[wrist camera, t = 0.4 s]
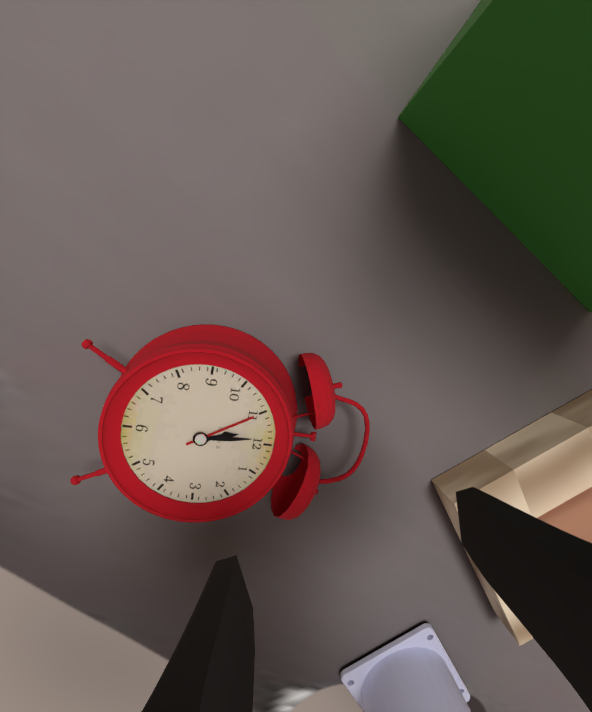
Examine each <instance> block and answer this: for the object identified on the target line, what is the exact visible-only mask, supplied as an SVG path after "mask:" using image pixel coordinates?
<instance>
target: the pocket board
mask: <svg viewBox="0 0 592 712" xmlns="http://www.w3.org/2000/svg"><path fill="white" fill-rule="evenodd" d="M432 482H433V484H434V486H435V488H436V490H437V493H438V495H439V497H440V499H441V501H442V503H443V505H444V507H445V509H446V511H447V514H448V516H449V518H450V520H451V522H452V524H453V526H454V528H455V530H456V532H457V534H458V537H459V539H460V541H461V534H460V526H459V517H458V509H457V500H456V492H457V491H460V490H464V489H467V488H470V487H475V488H477V489H479V490H481V491H483V492H485V493H487V494H489V495H491V496H493V497H495V498H497V499H499V500H501V501H503V502H505V503H507V504H509V505H511V506H513V507H515V508H517V509H519V510H521V511H523V512H525V513H527V514H529V515H532V516H534V517H536V518H538V517H539V516H541V515H543V514H545V513H546V512H548V511H550V510H552V509H553V508H555V507H557V506H559V505H560V504H562V503H564V502H566V501H567V500H569V499H571V498H573V497H575V496H576V495H578V494H580V493H582V492H583V491H585V490H587V489H589V488H590V487H592V390H590V391H588V392H586V393H585V394H583V395H581V396H579V397H578V398H576V399H574V400H572V401H570V402H569V403H567V404H565V405H563V406H562V407H560V408H558V409H556V410H554V411H553V412H551V413H549V414H547V415H546V416H544V417H542V418H540V419H538V420H537V421H535V422H533V423H531V424H530V425H528V426H526V427H524V428H523V429H521V430H519V431H517V432H515V433H514V434H512V435H510V436H508V437H507V438H505V439H503V440H501V441H499V442H498V443H496V444H494V445H492V446H491V447H489V448H487V449H485V450H483V451H482V452H480V453H478V454H476V455H475V456H473V457H471V458H469V459H467V460H466V461H464V462H462V463H460V464H459V465H457V466H455V467H453V468H452V469H450V470H448V471H446V472H444V473H443V474H441V475H439V476H437V477H436V478H434V479H432ZM464 549H465V548H464ZM465 551H466V550H465ZM466 553H467V551H466ZM467 555H468V557H469V560H470V562H471V564H472V566H473V568H474V570H475V572H476V574H477V576H478V578H479V581H480V583H481V585H482V587H483V589H484V591H485V593H486V595H487V597H488V599H489V601H490V604H491V606H492V608H493V610H494V612H495V613H496V614H497V616H498V617H499V618H500V620H501V621H502V622H503V624H504V625H505V626H506V628H507V629H508V630H509V632H510V633H511V634H512V636H513V637H514V638H515V640H516V641H517V642H518V644H519V645H520V646H521V645H522V644H524V643H526V642H528V641H529V640H531V639H533V637H532V635H531V634H530V633H529V632H528V631H527V629H526V628H525V627H524V626H523V624H522V623H521V622H520V621H519V620H518V618H517V617H516V616H515V615H514V614H513V612H512V611H511V610H510V609H509V608H508V606H507V605H506V604H505V603H504V601H503V600H502V599H501V598H500V597H499V595H498V594H497V593H496V592H495V590H494V589H493V588H492V587H491V586H490V584H489V583H488V582H487V581H486V579H485V578H484V577H483V575H482V574H481V572H480V571H479V569H478V568H477V566H476V565H475V564H474V562H473V561H472V559H471V557H470V556H469V554H468V553H467Z"/></svg>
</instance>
